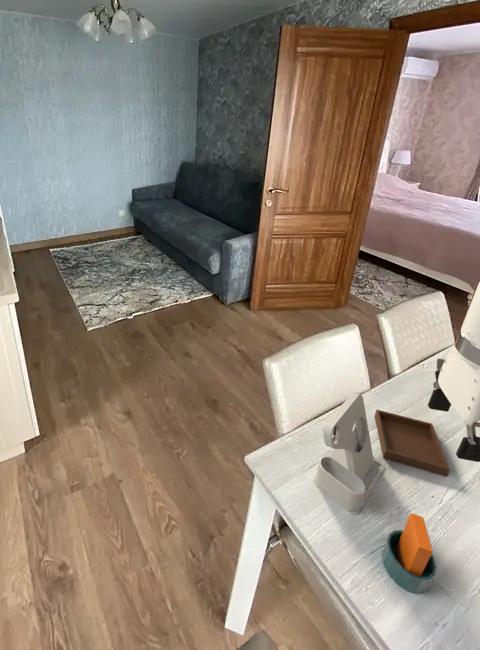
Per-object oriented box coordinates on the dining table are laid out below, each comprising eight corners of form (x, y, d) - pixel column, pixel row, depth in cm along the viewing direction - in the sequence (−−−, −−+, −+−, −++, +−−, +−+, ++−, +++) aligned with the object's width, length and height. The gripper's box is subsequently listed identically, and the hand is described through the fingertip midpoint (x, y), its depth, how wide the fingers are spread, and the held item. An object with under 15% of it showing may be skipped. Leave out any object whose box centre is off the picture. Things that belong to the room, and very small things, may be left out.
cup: (421, 555, 66) (428, 539, 64) (433, 603, 60) (442, 587, 58) (378, 539, 69) (384, 524, 67) (385, 584, 62) (392, 568, 60)
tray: (429, 430, 92) (432, 423, 91) (446, 476, 80) (450, 469, 79) (374, 415, 96) (376, 409, 95) (383, 458, 85) (385, 451, 84)
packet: (407, 552, 66) (423, 516, 62) (415, 588, 61) (433, 552, 57) (395, 548, 67) (410, 512, 63) (402, 583, 62) (419, 547, 58)
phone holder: (354, 521, 72) (373, 461, 65) (309, 483, 79) (322, 426, 72) (385, 467, 82) (404, 411, 76) (343, 438, 89) (357, 385, 83)
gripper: (563, 398, 43) (511, 488, 50) (481, 321, 59) (450, 396, 65) (495, 388, 45) (453, 476, 51) (432, 315, 60) (406, 390, 67)
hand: (451, 431), depth 58 cm, fingers open, 9 cm apart
